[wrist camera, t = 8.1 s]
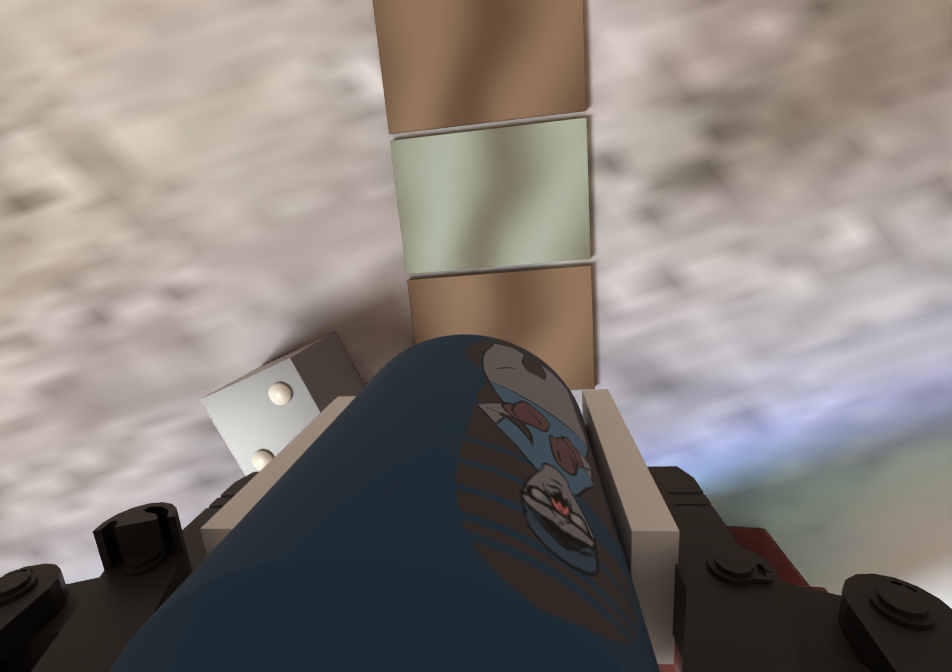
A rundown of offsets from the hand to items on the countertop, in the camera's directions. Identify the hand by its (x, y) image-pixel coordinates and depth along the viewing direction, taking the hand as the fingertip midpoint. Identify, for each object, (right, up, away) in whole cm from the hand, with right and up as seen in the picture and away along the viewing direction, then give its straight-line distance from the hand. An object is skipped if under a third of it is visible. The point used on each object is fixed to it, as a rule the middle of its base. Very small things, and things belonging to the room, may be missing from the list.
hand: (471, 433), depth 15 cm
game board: (+1, +7, +13) cm, 15 cm away
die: (-10, -1, +16) cm, 19 cm away
